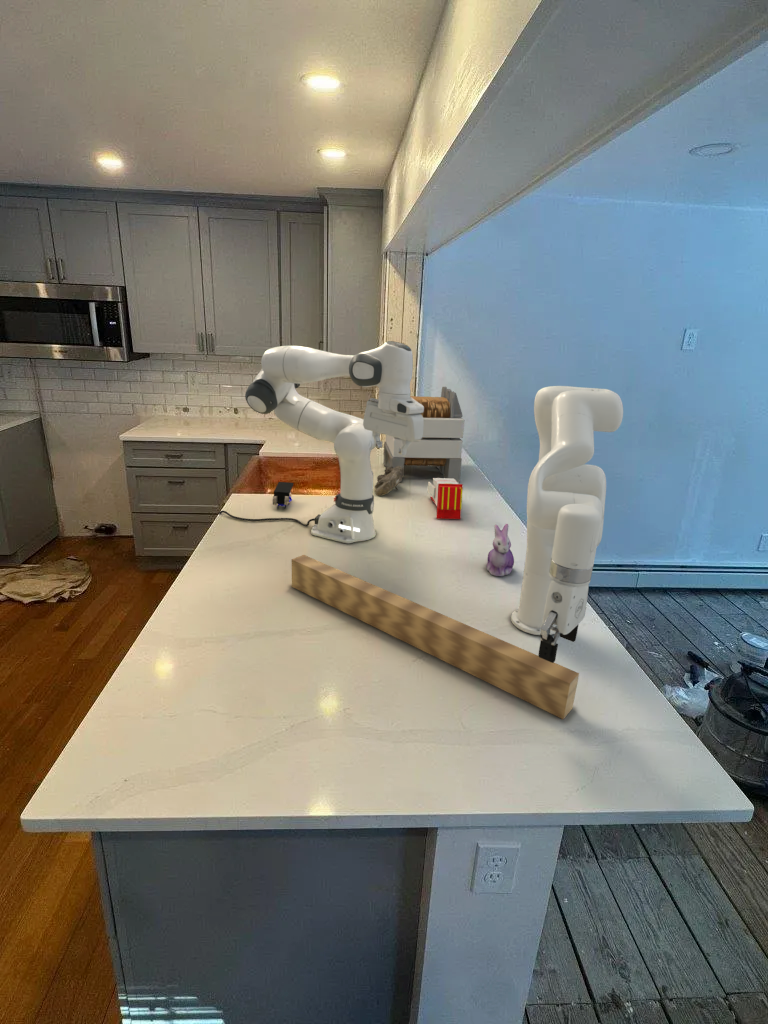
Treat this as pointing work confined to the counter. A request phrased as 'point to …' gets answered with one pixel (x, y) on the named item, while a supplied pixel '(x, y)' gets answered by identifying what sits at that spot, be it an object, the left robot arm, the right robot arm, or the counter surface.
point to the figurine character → (282, 494)
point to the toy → (446, 497)
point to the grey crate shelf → (433, 437)
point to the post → (441, 636)
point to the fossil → (388, 480)
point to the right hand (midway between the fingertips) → (557, 648)
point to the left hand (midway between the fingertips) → (390, 450)
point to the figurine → (500, 553)
